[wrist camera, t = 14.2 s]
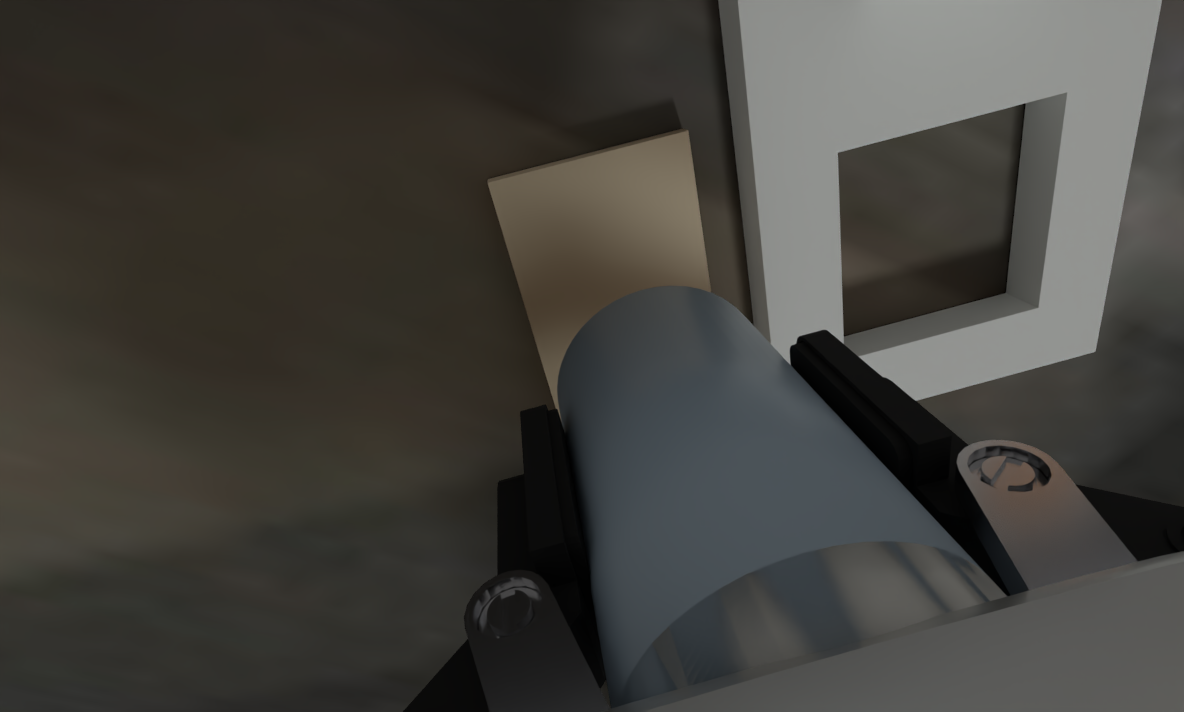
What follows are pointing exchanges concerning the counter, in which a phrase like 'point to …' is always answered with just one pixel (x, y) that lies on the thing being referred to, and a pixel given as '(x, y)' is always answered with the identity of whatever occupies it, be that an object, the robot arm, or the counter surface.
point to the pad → (600, 234)
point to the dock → (918, 102)
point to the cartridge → (733, 503)
